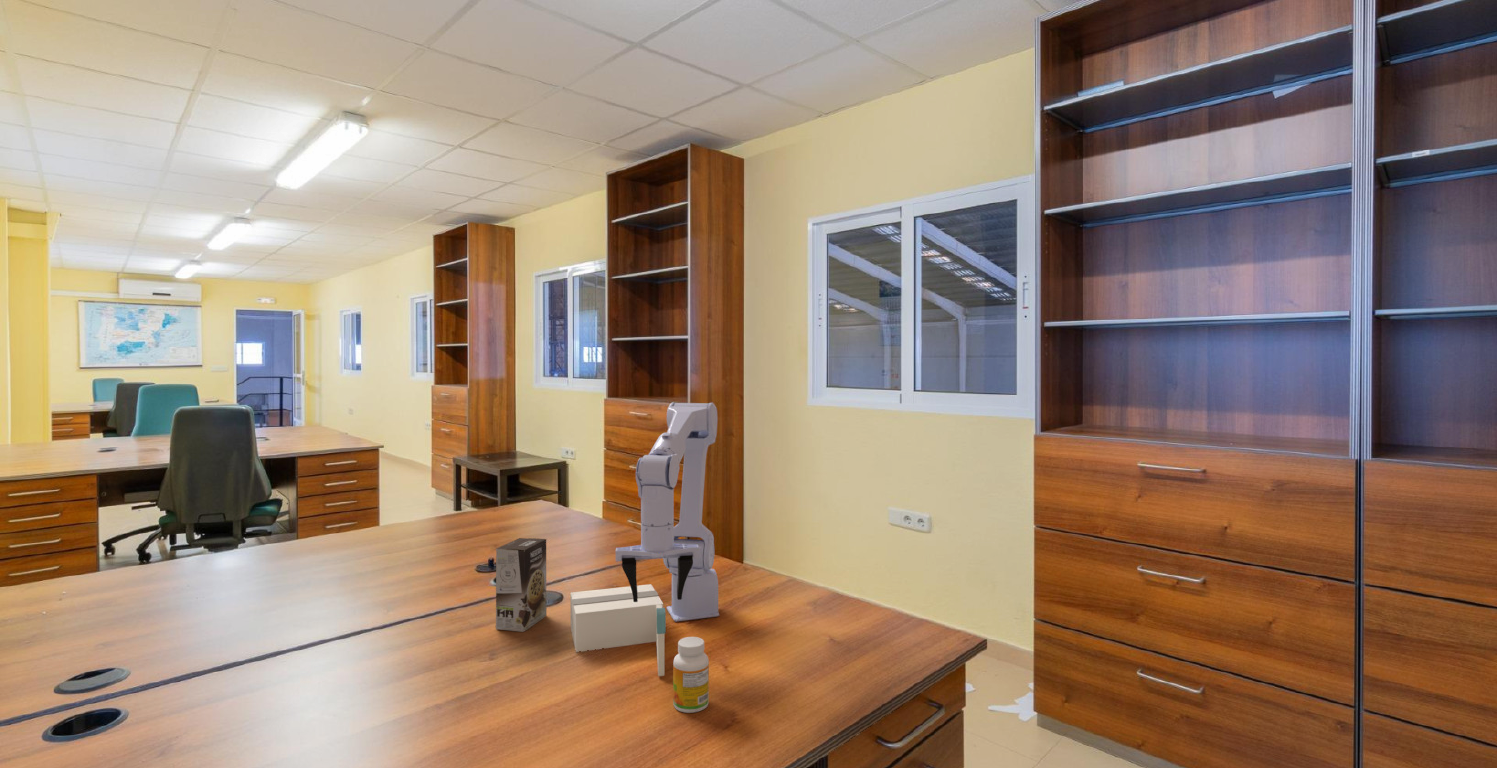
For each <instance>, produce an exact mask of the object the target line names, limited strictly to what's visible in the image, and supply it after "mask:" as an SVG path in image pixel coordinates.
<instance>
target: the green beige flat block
mask: <svg viewBox="0 0 1497 768" xmlns="http://www.w3.org/2000/svg"><path fill="white" fill-rule="evenodd" d="M666 617H667V616H666V607H663V608H662V604H660V605H656V642H655V644H656V659H657V676H658V677H663V676H665V634H666V631H667V630H666V628H667V625H666Z"/></svg>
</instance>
